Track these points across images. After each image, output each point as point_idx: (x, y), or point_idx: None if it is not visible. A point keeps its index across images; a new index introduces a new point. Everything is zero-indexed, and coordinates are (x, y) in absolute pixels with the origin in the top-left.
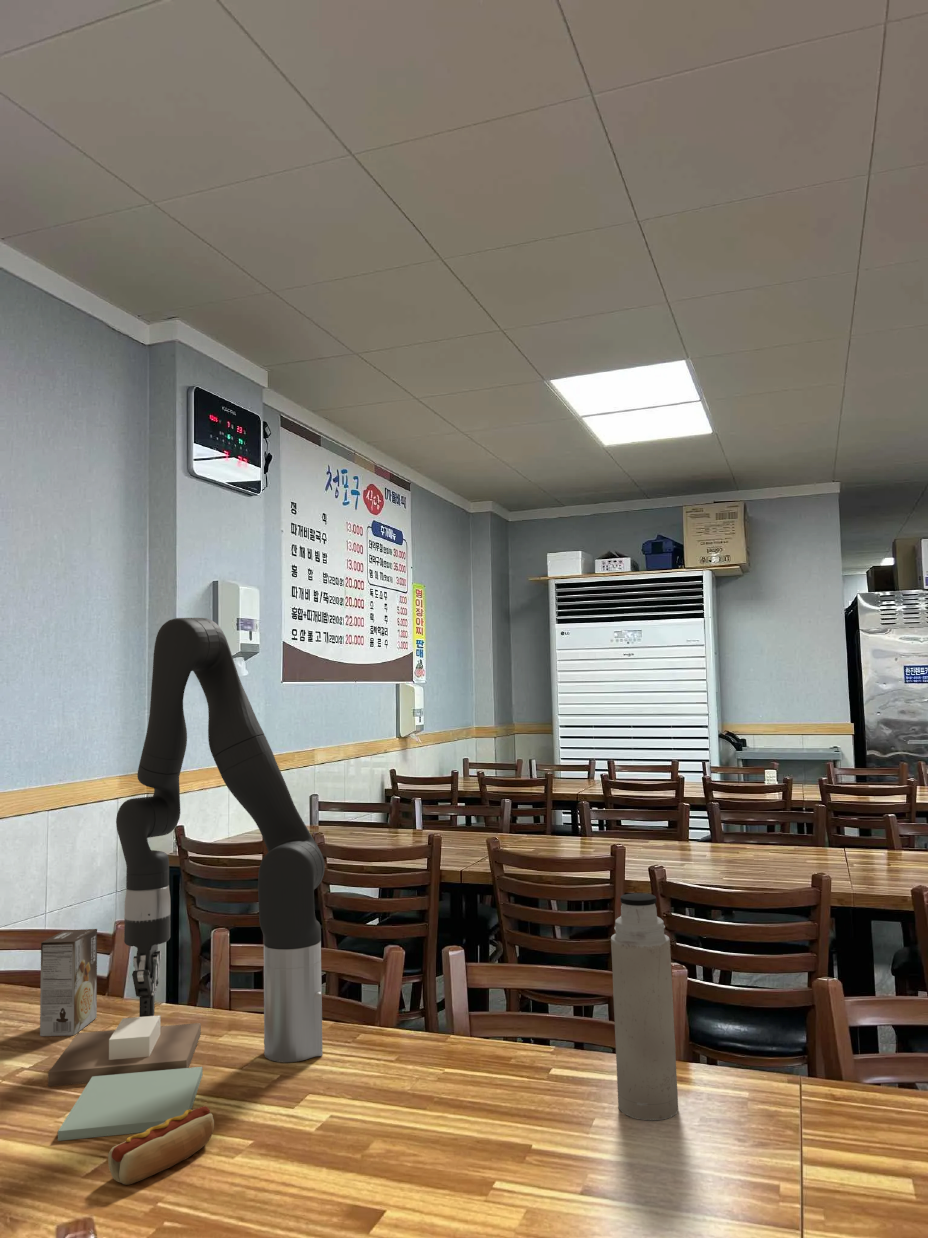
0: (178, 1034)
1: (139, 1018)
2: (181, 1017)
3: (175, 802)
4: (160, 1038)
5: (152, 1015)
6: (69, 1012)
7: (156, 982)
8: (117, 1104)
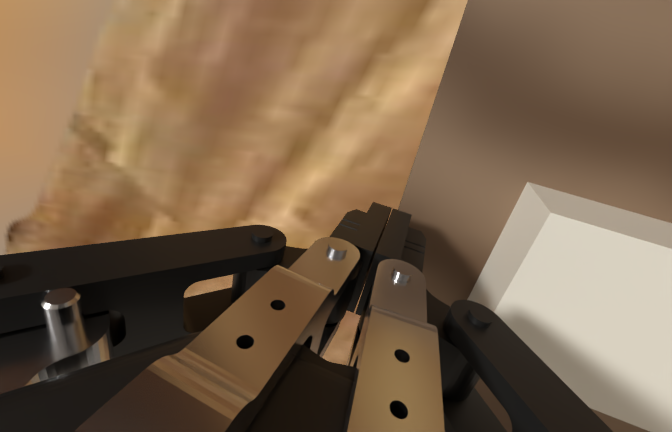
0: (606, 101)
1: (525, 310)
2: (211, 52)
3: None
4: (598, 190)
5: (409, 218)
6: None
7: (278, 250)
8: None
